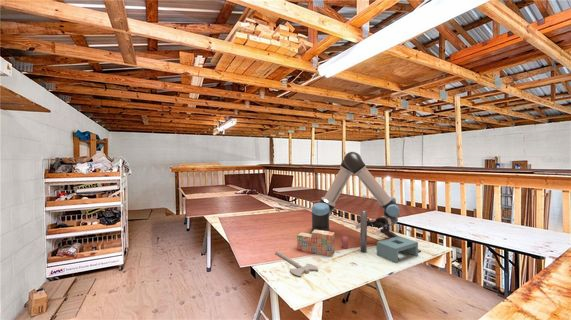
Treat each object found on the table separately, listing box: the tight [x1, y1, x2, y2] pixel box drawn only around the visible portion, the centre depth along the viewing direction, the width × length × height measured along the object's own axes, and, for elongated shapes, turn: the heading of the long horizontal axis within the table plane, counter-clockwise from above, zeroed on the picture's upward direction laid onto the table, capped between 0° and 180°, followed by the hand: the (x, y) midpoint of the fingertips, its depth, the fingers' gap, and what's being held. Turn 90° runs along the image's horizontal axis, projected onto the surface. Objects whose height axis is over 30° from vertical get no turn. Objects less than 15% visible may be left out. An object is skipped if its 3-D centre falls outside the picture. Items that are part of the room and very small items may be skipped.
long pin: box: [359, 209, 368, 254], centre depth 142 cm, size 4×4×24 cm
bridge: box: [376, 235, 419, 263], centre depth 137 cm, size 20×12×8 cm, turn 120°
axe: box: [274, 250, 319, 277], centre depth 127 cm, size 30×14×2 cm, turn 34°
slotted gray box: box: [382, 230, 422, 254], centre depth 161 cm, size 40×2×5 cm, turn 10°
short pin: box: [341, 235, 349, 249], centre depth 149 cm, size 4×4×6 cm
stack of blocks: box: [296, 230, 336, 258], centre depth 142 cm, size 21×6×12 cm, turn 64°
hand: (366, 229), depth 143 cm, fingers open, 13 cm apart
